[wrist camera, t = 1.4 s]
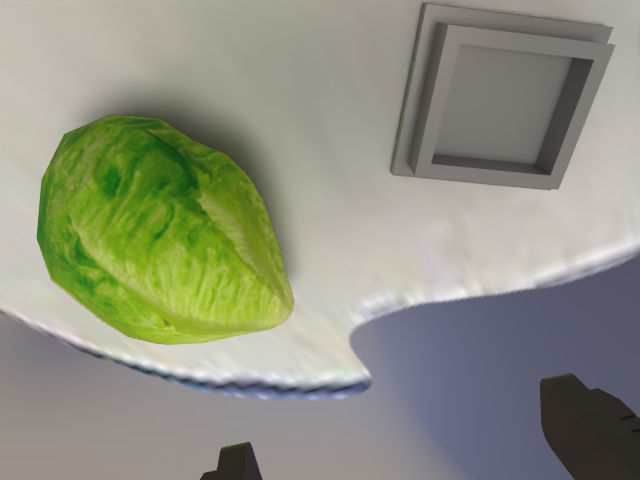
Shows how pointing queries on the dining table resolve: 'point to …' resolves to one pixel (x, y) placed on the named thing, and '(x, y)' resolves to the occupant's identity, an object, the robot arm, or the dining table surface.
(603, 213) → the dining table surface
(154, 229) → the lettuce
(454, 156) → the grey shallow square tray
